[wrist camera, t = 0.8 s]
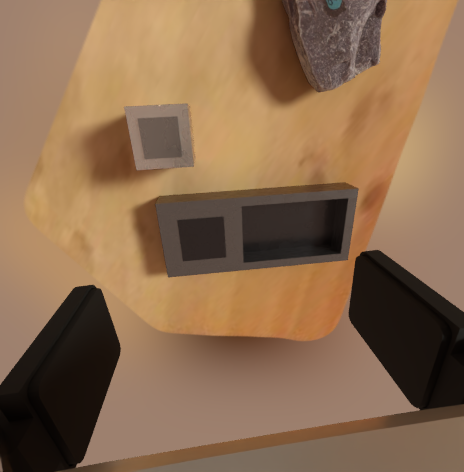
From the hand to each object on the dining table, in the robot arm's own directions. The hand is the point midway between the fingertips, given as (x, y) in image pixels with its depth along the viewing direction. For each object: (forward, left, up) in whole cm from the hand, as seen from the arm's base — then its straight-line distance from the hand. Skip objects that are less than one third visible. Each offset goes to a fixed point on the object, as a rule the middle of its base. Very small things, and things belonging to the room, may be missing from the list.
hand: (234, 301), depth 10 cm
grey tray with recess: (+6, +5, -22) cm, 23 cm away
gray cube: (-5, -4, -22) cm, 23 cm away
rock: (-14, +12, -23) cm, 29 cm away
